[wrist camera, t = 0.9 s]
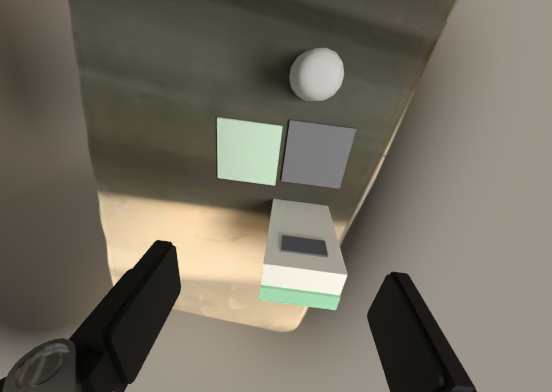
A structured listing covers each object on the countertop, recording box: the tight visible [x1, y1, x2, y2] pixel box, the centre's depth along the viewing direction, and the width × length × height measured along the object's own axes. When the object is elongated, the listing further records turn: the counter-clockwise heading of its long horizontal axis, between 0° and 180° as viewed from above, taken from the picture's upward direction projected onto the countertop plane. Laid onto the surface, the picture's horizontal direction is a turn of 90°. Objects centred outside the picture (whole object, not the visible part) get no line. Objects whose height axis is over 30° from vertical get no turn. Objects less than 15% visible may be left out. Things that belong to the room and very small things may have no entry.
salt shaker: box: [289, 48, 344, 101], centre depth 25 cm, size 6×6×13 cm
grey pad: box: [282, 120, 356, 189], centre depth 36 cm, size 10×10×1 cm
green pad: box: [217, 117, 282, 185], centre depth 36 cm, size 10×10×1 cm
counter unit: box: [259, 199, 347, 310], centre depth 34 cm, size 7×10×16 cm, turn 83°
